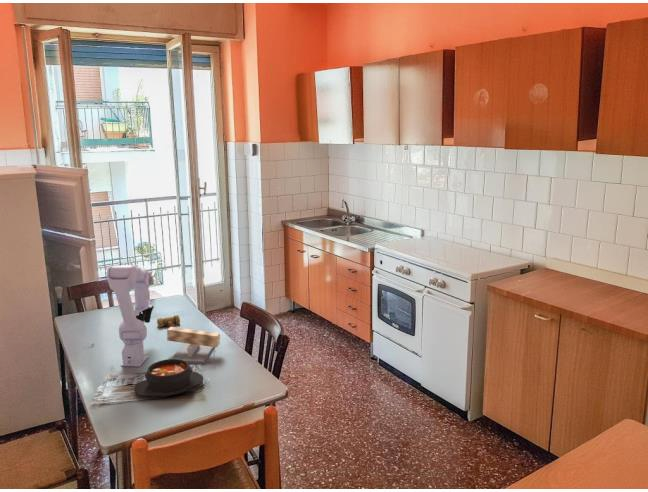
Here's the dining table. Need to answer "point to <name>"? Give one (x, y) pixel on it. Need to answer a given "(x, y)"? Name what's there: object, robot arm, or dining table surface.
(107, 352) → the dining table surface
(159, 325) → the gavel
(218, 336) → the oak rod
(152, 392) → the casserole
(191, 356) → the fulcrum stand
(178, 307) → the dining table surface
